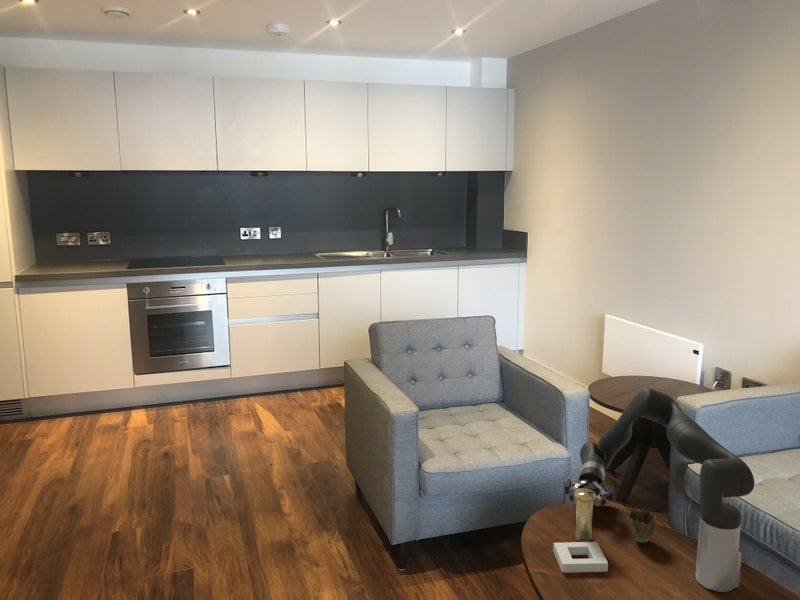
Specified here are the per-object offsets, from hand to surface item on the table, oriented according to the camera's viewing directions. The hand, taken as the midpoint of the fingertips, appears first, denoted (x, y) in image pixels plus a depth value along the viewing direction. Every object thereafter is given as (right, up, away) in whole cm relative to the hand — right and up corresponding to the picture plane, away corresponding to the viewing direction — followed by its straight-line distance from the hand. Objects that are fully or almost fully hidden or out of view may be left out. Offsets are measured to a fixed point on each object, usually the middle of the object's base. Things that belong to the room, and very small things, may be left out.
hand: (587, 501), depth 195 cm
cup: (+14, -9, -7) cm, 18 cm away
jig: (-6, -11, -16) cm, 21 cm away
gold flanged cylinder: (-3, -9, -5) cm, 11 cm away
